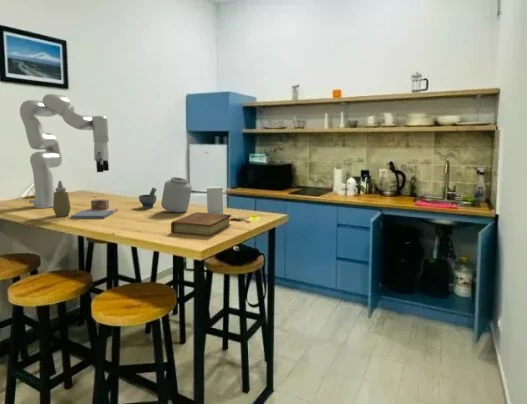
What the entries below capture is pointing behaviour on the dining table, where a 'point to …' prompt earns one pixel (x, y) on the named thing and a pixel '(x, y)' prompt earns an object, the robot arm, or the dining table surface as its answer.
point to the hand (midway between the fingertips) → (103, 171)
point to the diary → (201, 224)
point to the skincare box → (215, 200)
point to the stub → (100, 205)
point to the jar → (176, 195)
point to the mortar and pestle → (148, 199)
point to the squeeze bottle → (61, 201)
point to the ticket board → (92, 214)
